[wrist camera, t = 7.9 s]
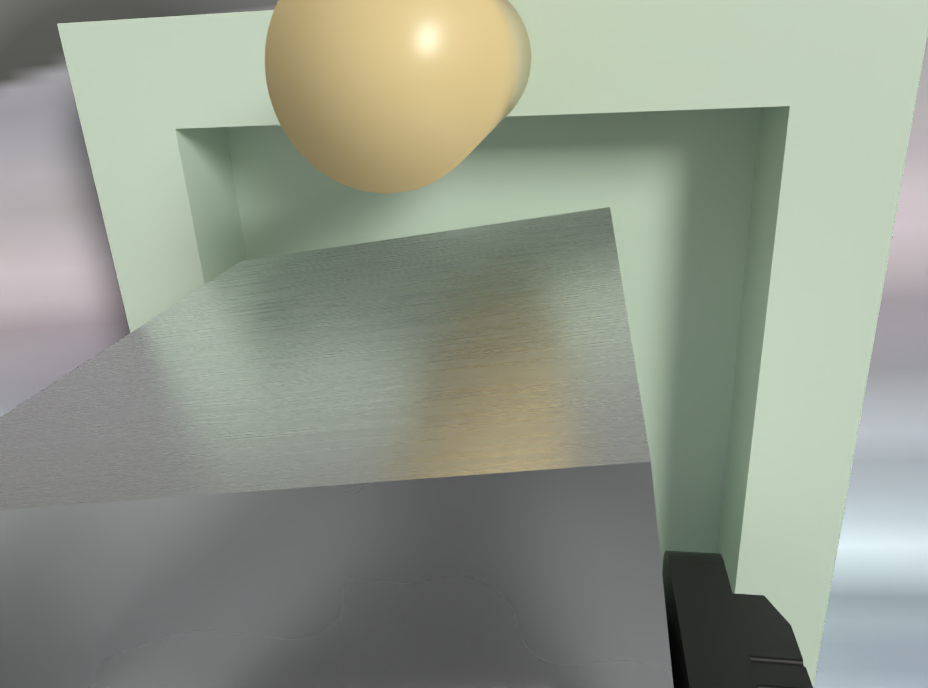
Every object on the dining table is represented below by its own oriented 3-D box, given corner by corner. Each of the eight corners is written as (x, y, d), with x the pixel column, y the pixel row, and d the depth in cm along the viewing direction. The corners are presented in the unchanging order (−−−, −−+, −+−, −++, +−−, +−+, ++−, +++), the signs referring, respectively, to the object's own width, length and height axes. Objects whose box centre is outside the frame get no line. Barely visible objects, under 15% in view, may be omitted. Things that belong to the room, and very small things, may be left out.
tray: (873, -35, 10) (1243, -130, 4) (753, 794, 16) (844, 1196, 10) (140, 12, 12) (-268, -12, 6) (284, 746, 18) (148, 1071, 12)
